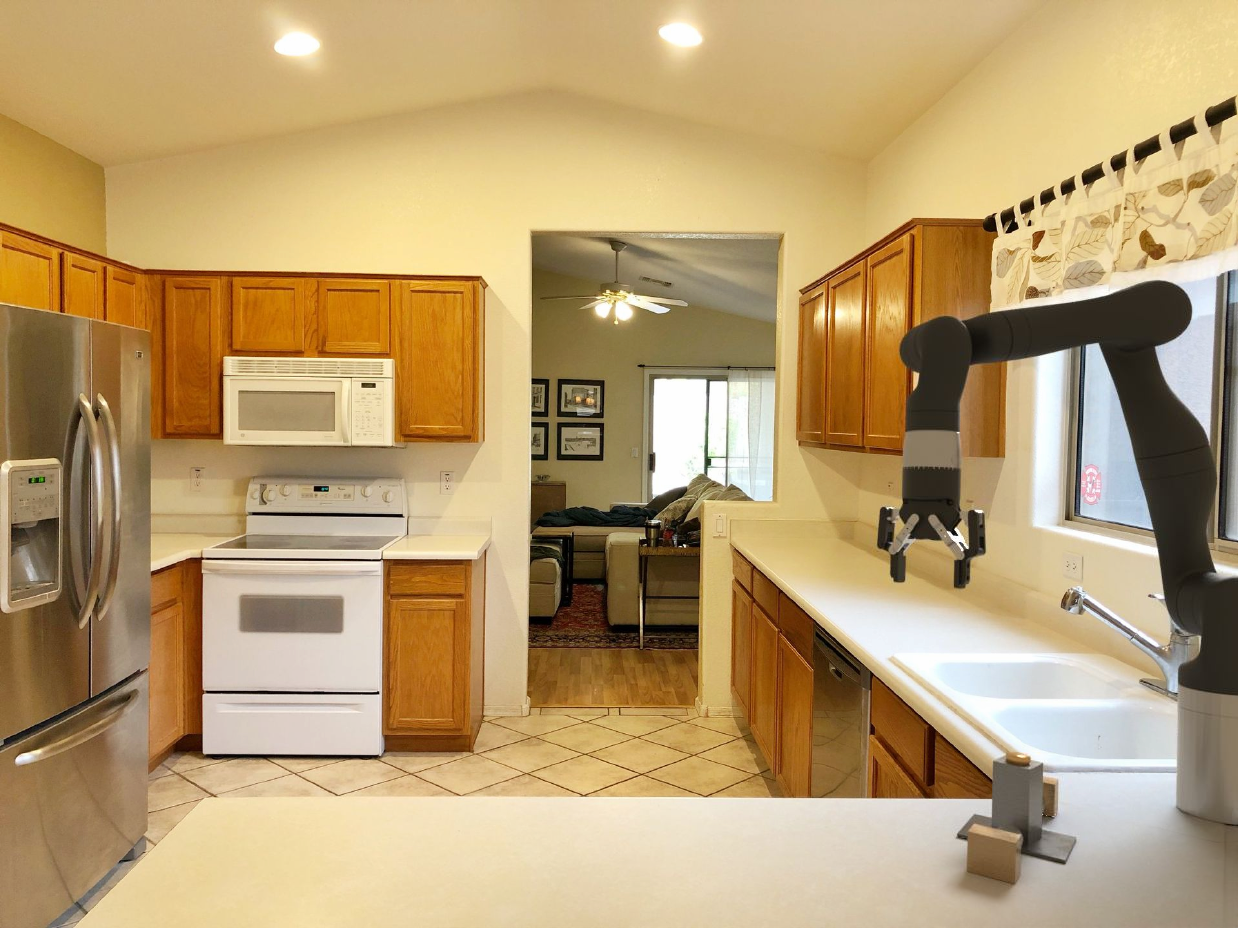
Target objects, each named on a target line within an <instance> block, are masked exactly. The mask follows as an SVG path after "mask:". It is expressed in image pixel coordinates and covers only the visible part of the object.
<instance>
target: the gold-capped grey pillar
mask: <svg viewBox="0 0 1238 928" xmlns="http://www.w3.org/2000/svg"><path fill="white" fill-rule="evenodd" d="M1031 758H1032V757H1031V755H1028V754H1027V753H1023V752H1016V751H1008V752H1006V753H1005V755H1003V756H1000V757H998V758H996V759H994V760H992V785H991V786H992V787H991V788H992V790H991V791H992V793H991V818H992V828H994V829H998V828H999V827H1000V826H1001V825H1003V824H1010V825H1013V826H1015V827H1016V828H1018V829H1019V831H1020V832H1021V834H1022V836H1023V844H1025V845H1030V844H1031V843H1033V842H1034V841H1036V840H1037V839H1039V838H1040V837H1042V829H1043V815H1042V799H1043V776H1044V762H1040V761H1036V760H1032V759H1031Z"/></svg>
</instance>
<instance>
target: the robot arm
mask: <svg viewBox="0 0 1238 928" xmlns="http://www.w3.org/2000/svg"><path fill="white" fill-rule="evenodd" d="M1192 319H1193V305H1192V301H1191V298H1190V296H1189V295H1188V293H1186V291H1185V290H1184V289H1183V288H1182V287H1181V286H1180V285H1178V284H1176V283H1174V282H1172V281H1169V280H1164V279H1163V280H1162V279H1151V280H1147V281H1146V280H1145V281H1143V282H1139V283H1136V284H1134V285H1131V286H1127V287H1125V288H1123V289H1119V290H1117V291H1114V292H1112V293H1109V294H1106V295H1103V296H1102V295H1101V296H1098V297H1092V298H1087V299H1082V300H1075V301H1068V302H1061V303H1055V304H1045V305H1036V306H1028V307H1020V308H1019V307H1018V308H1014V309H1013V308H1011V309H1004V310H997V311H992V312H987V313H983V314H978V315H977V316H973V317H970V318H967V319H964V320H961V319H959V318H957V317H955V316H953V315H941V316H937V317H934V318H932V319H929V320H928V321H925V322H923V323H921V324H918V325H915V326H914V327H911V328H910V330H908V331H907V332H906V333H905V335H903V337H902V339H901V341H900V344H899V349H898V351H899V357H900V359H901V362H902V363H903V365H904V366H905V367H906V368H907V369H909V370H911V371H912V372H914V373H917V374H918V380H917V383H916V387H915V388H914V390H912V392H910V394H908V397H907V401H906V407H905V410H906V411H905V434H904V441H903V449H902V458H901V463H902V472H901V473H902V474H901V476H902V477H901V478H902V479H901V498H902V504H901V506H900V508H896V507H894V506H882V507H880V508H879V513H878V514H879V515H878V528H877V539H876V547H877V549H879V550H883V551H885V552H887V553H888V554H889V555H890V558H889V559H890V562H889V570H890V571H889V576H890V578H891V579H893V582H894V583H898V584H899V583H901V584H902V583H905V582H906V569H907V568H906V567H907V566H906V565H907V562H906V561H907V556H906V555H904V553H905V552H906V551H907V550H908V548H909V547H910V546H911V545H912V544H913V543H915V541H916V540H917V541H918V540H920V541H921V540H927V541H928V540H930V541H932V542H933V541H934V542H937V541H938V542H939V541H940V542H943V544H945V546H947V547H948V548H949V549H950V551H951V552H952V554H953V555H954V557H955V558H956V559H954V560H953V588H954V589H959V590H960V589H961V590H963V589H966V587H967V585H969V584H970V581H971V562H972V560H973V559H974V558H978V557H981V556H984V555H985V554H986V553H987V547H986V546H987V543H986V523H985V522H986V521H985V520H986V519H985V517H986V516H985V512H984V510H981V509H970V510H966V511H964V510H963V511H962V508H961V506H960V502H961V493H962V492H961V491H962V490H961V489H962V488H961V487H962V486H961V484H962V453H963V452H962V441H961V414H962V413H961V402H962V401H961V400H962V396H963V393H964V391H965V388H966V383H967V379H968V374H969V370H970V366H975V365H981V364H982V365H983V364H997V363H1003V362H1010V361H1011V362H1012V361H1017V360H1018V361H1019V360H1024V359H1031V358H1036V357H1040V356H1045V355H1049V354H1054V353H1058V352H1062V351H1066V350H1071V349H1074V348H1078V347H1084V346H1088V345H1095V344H1098V346H1099V349H1100V351H1101V354H1102V357H1103V360H1104V361H1105V364H1106V366H1107V369H1108V372H1109V374H1110V377H1111V379H1112V381H1113V385H1114V387H1115V390H1116V394H1117V398H1118V400H1119V404H1120V407H1121V408H1120V409H1121V411H1122V414H1123V418H1124V421H1125V425H1126V429H1127V431H1128V436H1129V438H1130V443H1131V447H1132V448H1131V449H1132V453H1133V457H1134V461H1135V465H1136V469H1137V473H1138V476H1139V481H1140V484H1141V487H1142V490H1143V493H1144V497H1145V500H1146V505H1147V509H1148V513H1149V518H1150V522H1151V526H1152V530H1153V534H1154V538H1155V543H1156V548H1157V553H1158V554H1157V555H1158V560H1159V567H1160V575H1161V582H1162V591H1163V597H1164V601H1165V605H1166V608H1167V609H1166V610H1167V612H1168V614H1169V616H1170V619H1171V620H1172V622H1174V624H1175V625H1176V626H1177V627H1178V628H1179V629H1181V630H1182V631H1184V632H1186V633H1188V634H1192V635H1195V636H1199V637H1200V646H1199V652H1198V654H1197V655H1196V657H1194V658H1193V659H1191V660H1187V661H1183V662H1182V663H1180V664H1179V666H1178V667H1177V703H1176V704H1177V714H1176V717H1177V724H1176V727H1177V729H1176V732H1177V733H1176V777H1175V778H1176V782H1175V783H1176V785H1175V787H1176V792H1175V797H1176V799H1175V805H1176V807H1177V809H1179V810H1180V811H1182V812H1184V813H1186V814H1188V815H1189V816H1193V817H1196V818H1198V819H1199V818H1200V819H1203V820H1206V821H1211V822H1216V823H1220V824H1227V825H1228V824H1229V825H1236V826H1238V575H1235V574H1225V573H1218V572H1217V570H1216V567H1215V564H1214V562H1213V558H1212V554H1211V550H1210V547H1209V541H1208V523H1209V520H1210V515H1211V512H1212V508H1213V505H1214V501H1215V497H1216V493H1217V488H1218V487H1217V486H1218V474H1217V467H1216V465H1215V463H1216V462H1215V460H1214V456H1213V452H1212V449H1211V447H1212V446H1211V444H1210V441H1209V438H1208V435H1207V432H1206V431H1205V428H1204V427H1203V425H1202V424H1201V422H1200V421H1199V420H1198V418H1197V417H1196V416H1195V415H1194V413H1193V412H1192V411H1191V409H1190V408H1188V406H1187V405H1186V404H1185V403H1184V402H1183V401H1182V400H1181V399H1180V398H1179V396H1177V394H1176V393H1175V392H1174V390H1173V389H1172V388H1171V386H1170V385H1169V383H1168V382H1167V380H1166V378H1165V375H1164V374H1163V371H1162V368H1161V364H1160V361H1159V358H1158V354H1157V349H1156V347H1160V346H1163V345H1166V344H1168V343H1170V342H1172V341H1175V340H1176V339H1177V338H1179V337H1180V336H1182V334H1183V333H1184V332H1186V330H1187V329H1188V328H1189V326H1190V324H1191V321H1192ZM899 519H900V520H901V521H902V523H903V524H904V526H903V527H902V528H901V529H900V531H899V532H898V533H897V535H896V537H895V527H896V523H898V520H899ZM962 521H963V522H964V526H966V527H967V528H968V533H967V534H968V546H967V544H966V543H965V539H964V537H963V536H962V535H961V533H960V531H959V530H958V529H957V527H958V525H959V524H960V523H961V522H962ZM894 537H895V538H894Z"/></svg>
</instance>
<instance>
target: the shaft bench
mask: <svg viewBox="0 0 1238 928" xmlns="http://www.w3.org/2000/svg"><path fill="white" fill-rule="evenodd" d="M1057 811H1058V812H1059V779H1058V778H1054V777H1049V776H1045V775H1043V799H1042V814H1043V815H1047V816H1055V814H1056V813H1057ZM1057 814H1058V813H1057ZM1057 814H1056V815H1057ZM1043 815H1042V816H1043ZM1047 816H1046V817H1047ZM1055 817H1056V816H1055ZM957 836H958V837H957ZM956 837H957V838H960V837H964V838H966V839H965V840H967V842H966V843H967V849H966V851H967V853H966V872H968V873H972V874H974V875H975V874H976V875H980V876H984V877H987V878H991V879H994V880H998V881H1002V882H1005V883H1010V884H1013V885H1016V884H1017V882H1018V880H1019V878H1020V877H1021V871H1022V870H1021V867H1022V854H1024V855H1029V856H1033V857H1036V858H1042V859H1044V860H1048V861H1052V862H1056V863H1057V862H1058V863H1061V864H1066V862H1067V861H1068V859H1069V857H1070V855H1071V852H1072V850H1073V848H1074V846H1075V844H1076V843H1077V836H1072V835H1070V834H1069V835H1068V834H1064V833H1059V832H1054V831H1050V830H1045V829H1043V828H1042V837H1040V838H1039V839H1037V840H1036V841H1034V842H1033V843H1031V844H1030V845H1025V844H1023V836H1022V834H1021V832H1020V831H1019V829H1018V828H1016V827H1015V826H1013V825H1010V824H1003V825H1001V826H1000V827H999V828H998V829H994V828H992V817H991V816H986V815H981V814H977V813H974V814H973V815H972V816H971V817H970V818H969V819H968V820H967V821H966V823H965V824H964V825H963V826H962V828H960V829H959V831H958V832H957V833H956ZM964 838H963V839H964Z"/></svg>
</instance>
